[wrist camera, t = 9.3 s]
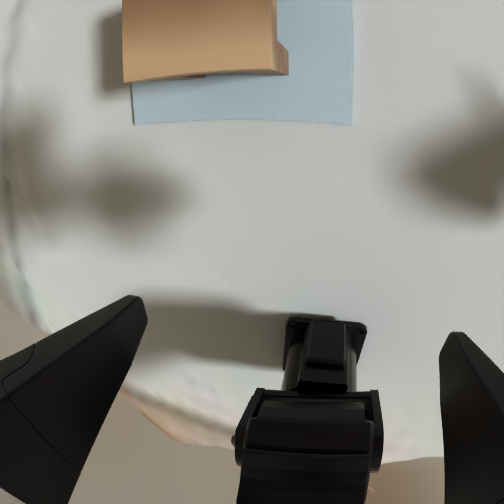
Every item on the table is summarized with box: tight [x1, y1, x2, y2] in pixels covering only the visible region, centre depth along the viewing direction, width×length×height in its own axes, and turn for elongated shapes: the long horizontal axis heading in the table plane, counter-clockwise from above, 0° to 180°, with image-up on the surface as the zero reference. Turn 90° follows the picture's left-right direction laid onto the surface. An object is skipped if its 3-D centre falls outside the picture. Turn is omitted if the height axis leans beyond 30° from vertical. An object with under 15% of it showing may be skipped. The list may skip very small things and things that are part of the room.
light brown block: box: [122, 0, 289, 83], centre depth 12 cm, size 6×6×6 cm
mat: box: [132, 0, 354, 125], centre depth 15 cm, size 12×14×1 cm
